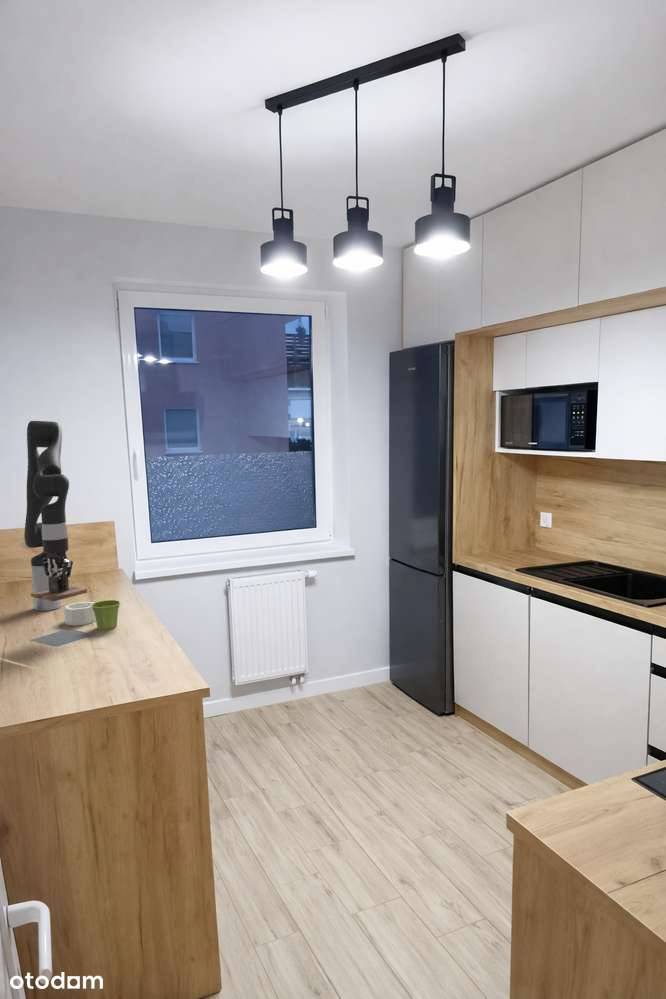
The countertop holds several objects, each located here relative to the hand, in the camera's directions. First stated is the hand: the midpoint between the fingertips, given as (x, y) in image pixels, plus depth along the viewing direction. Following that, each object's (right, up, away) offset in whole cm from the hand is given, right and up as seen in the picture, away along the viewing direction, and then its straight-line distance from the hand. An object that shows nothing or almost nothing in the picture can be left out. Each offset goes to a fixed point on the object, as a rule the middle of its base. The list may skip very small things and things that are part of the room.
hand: (59, 589), depth 210 cm
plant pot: (+12, -15, +12) cm, 22 cm away
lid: (0, -2, 0) cm, 2 cm away
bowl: (0, -14, +20) cm, 25 cm away
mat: (+1, -16, +2) cm, 16 cm away
